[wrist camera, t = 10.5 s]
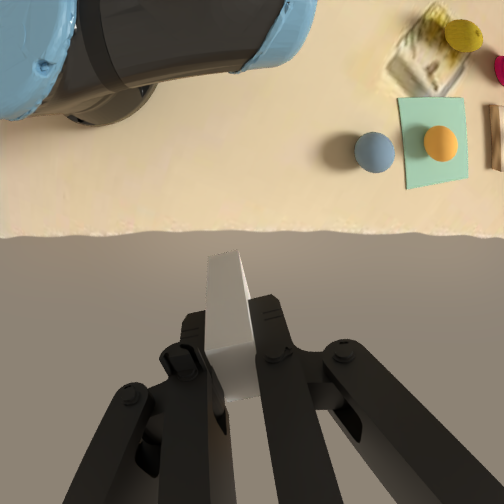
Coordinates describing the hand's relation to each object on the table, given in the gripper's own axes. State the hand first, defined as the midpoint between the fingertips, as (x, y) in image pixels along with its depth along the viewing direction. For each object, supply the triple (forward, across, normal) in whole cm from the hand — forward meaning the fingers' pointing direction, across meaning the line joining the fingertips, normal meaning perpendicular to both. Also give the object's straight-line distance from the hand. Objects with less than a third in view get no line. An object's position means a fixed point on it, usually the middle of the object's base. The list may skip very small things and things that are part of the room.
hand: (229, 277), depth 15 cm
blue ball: (+24, +20, 0) cm, 31 cm away
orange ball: (+24, +32, 0) cm, 40 cm away
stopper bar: (+26, +50, 0) cm, 56 cm away
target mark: (+26, +34, 0) cm, 43 cm away
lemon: (+27, +40, +17) cm, 51 cm away
